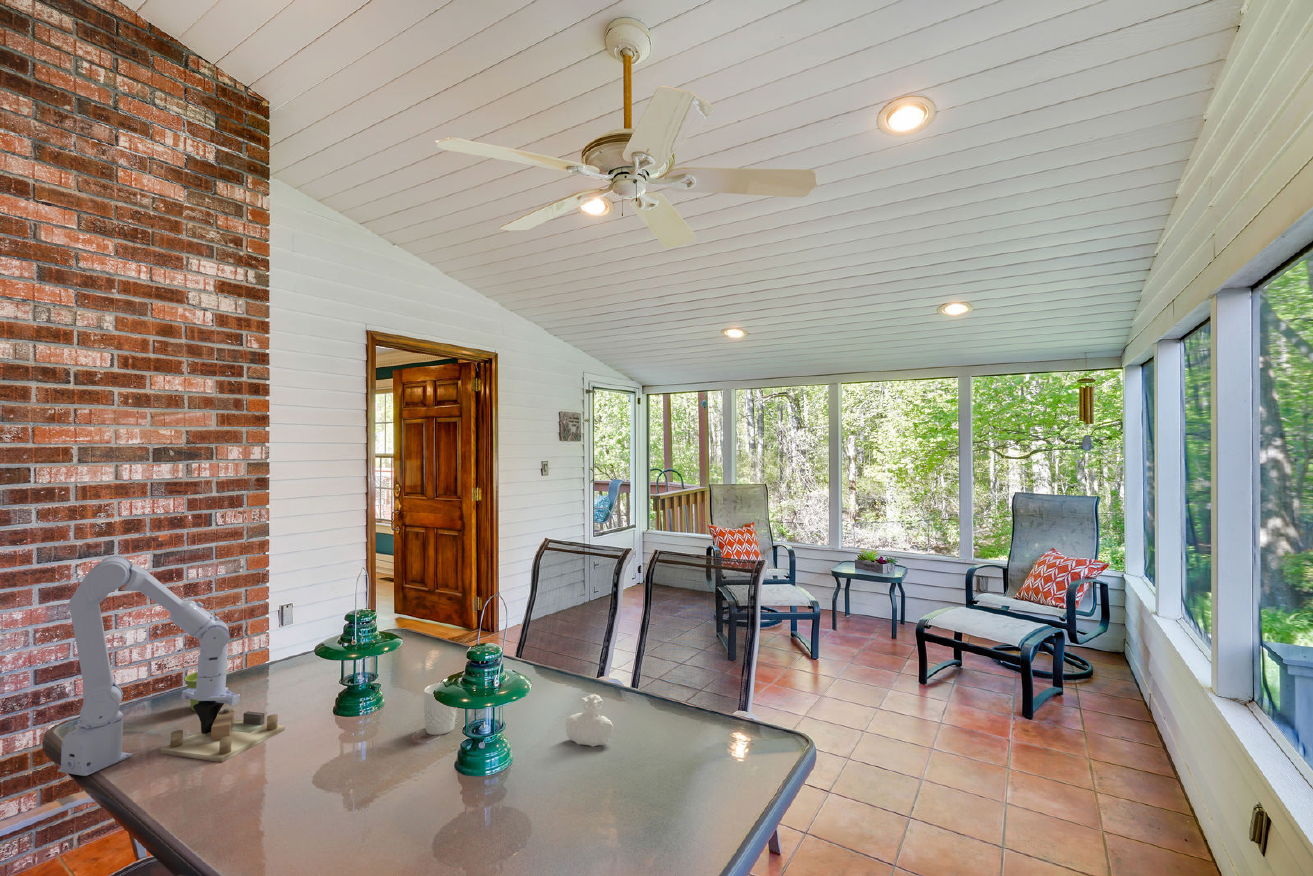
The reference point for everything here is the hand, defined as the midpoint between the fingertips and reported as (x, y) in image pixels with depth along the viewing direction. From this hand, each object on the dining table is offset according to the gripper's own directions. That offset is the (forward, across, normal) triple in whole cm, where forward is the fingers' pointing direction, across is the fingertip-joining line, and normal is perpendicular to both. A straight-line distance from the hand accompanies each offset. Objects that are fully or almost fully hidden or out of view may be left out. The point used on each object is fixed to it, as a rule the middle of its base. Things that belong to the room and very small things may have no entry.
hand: (208, 732), depth 147 cm
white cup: (+1, -50, -18) cm, 53 cm away
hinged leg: (0, -2, -3) cm, 3 cm away
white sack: (0, -88, -20) cm, 90 cm away
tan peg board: (+2, -5, 0) cm, 5 cm away
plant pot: (+2, +18, -16) cm, 24 cm away
